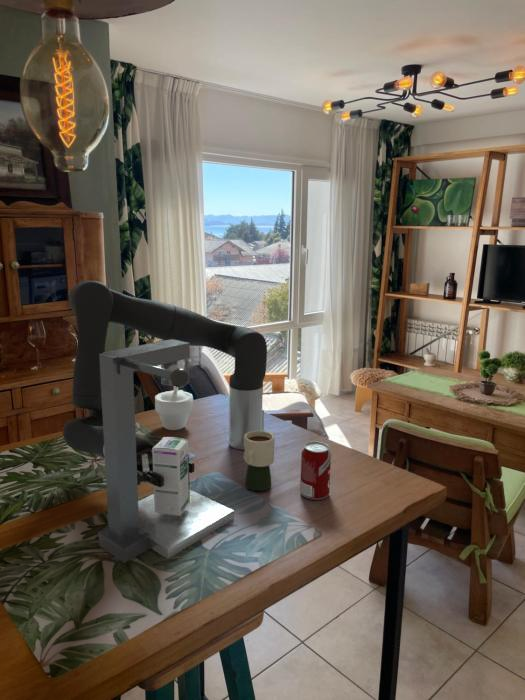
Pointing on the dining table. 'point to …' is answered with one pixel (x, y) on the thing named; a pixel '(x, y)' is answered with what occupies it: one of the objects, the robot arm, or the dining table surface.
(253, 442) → the character mug
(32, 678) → the dining table surface
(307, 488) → the soda can
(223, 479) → the dining table surface
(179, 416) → the mortar and pestle
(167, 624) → the dining table surface
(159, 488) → the syrup box
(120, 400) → the bench press
